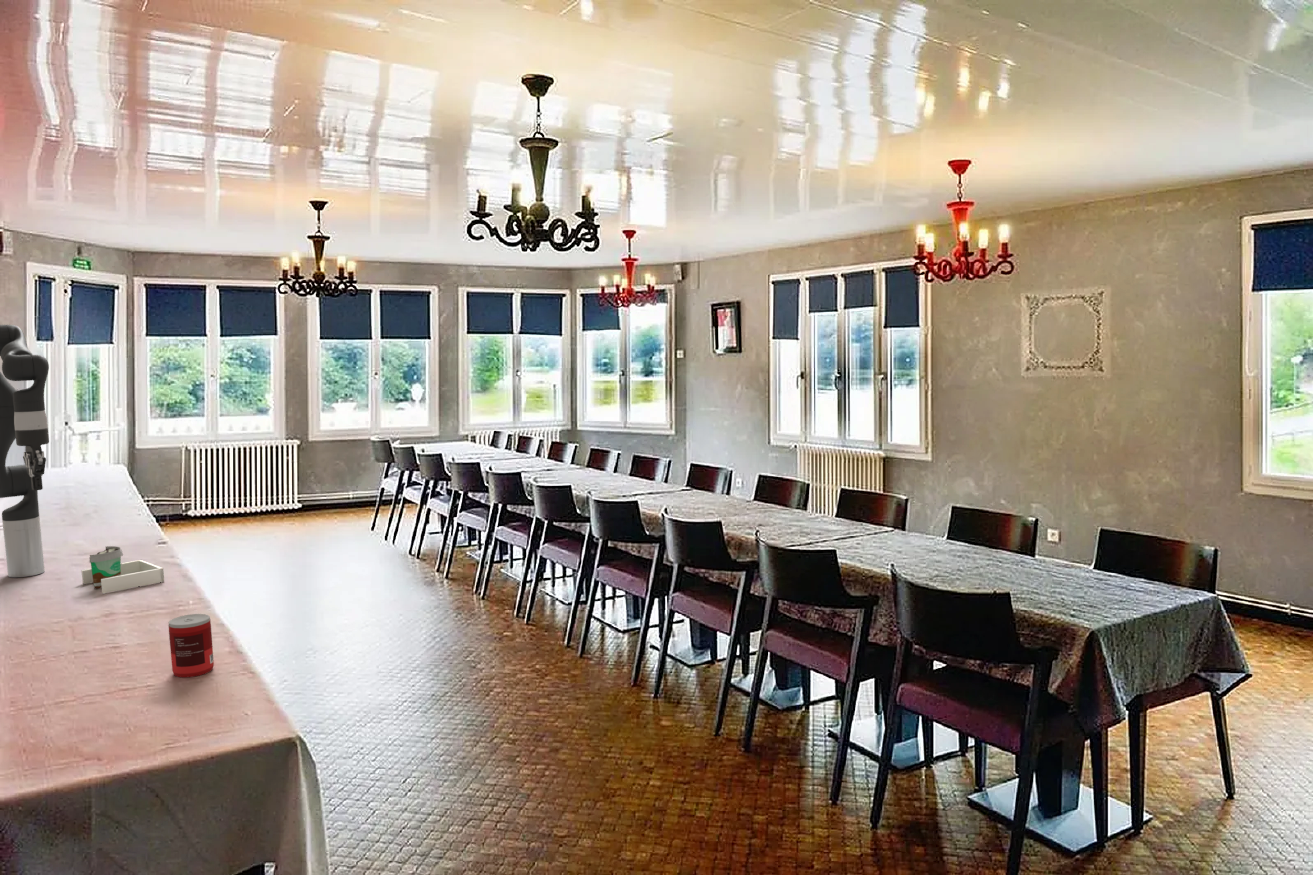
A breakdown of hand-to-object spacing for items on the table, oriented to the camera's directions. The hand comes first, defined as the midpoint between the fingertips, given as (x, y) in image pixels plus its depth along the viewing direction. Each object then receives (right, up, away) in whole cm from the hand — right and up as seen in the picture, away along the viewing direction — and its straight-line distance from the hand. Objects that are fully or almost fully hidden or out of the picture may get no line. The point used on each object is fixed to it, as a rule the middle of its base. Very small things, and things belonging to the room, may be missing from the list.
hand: (37, 489), depth 252 cm
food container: (+15, -28, +10) cm, 33 cm away
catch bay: (+18, -28, +10) cm, 34 cm away
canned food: (+77, -34, -65) cm, 106 cm away
